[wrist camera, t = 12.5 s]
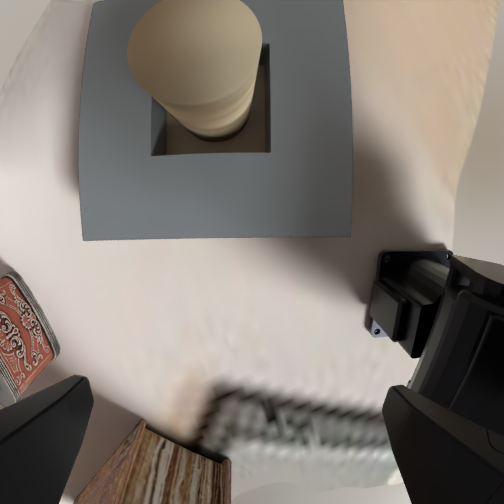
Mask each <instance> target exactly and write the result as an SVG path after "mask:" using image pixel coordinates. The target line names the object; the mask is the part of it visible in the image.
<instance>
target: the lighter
mask: <svg viewBox="0 0 504 504" xmlns="http://www.w3.org/2000/svg"><path fill="white" fill-rule="evenodd" d="M59 353H60V346H59V343H58V341H57V339H56V337H55V334H54V332H53V330H52V328H51V326H50V324H49V322H48V320H47V318H46V316H45V314H44V312H43V310H42V309H41V307H40V305H39V304H38V302H37V300H36V299H35V297H34V295H33V294H32V292H31V291H30V289H29V288H28V286H27V285H26V283H25V282H24V280H23V279H22V277H21V276H20V275H19V274H18V273H16V272H10V273H7V274H5V275H4V276H2V277H1V278H0V405H2V406H3V407H8V406H10V405H12V404H14V403H16V402H18V401H20V396H21V395H22V394H23V392H24V391H25V390H26V389H27V388H28V386H29V385H30V384H31V383H32V382H33V381H34V379H35V378H36V377H37V376H38V375H39V374H40V372H41V371H42V370H43V369H44V368H45V367H46V366H47V364H48V363H50V362H52V361H54V360H55V359H56V357H57V356H58V355H59Z"/></svg>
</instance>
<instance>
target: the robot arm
mask: <svg viewBox="0 0 504 504" xmlns="http://www.w3.org/2000/svg"><path fill="white" fill-rule="evenodd" d="M447 254H448V258H447V259H446V256H447ZM386 255H388V259H387V260H386V261H384V257H385V256H386ZM370 316H371V323H370V329H369V331H370V334H371V335H372V336H373V337H376V338H377V337H386V336H389V338H390V339H391V340H392V341H393V342H398V343H399V344H400V345H401V346H402V347H403V348H404V350H405V351H406V352H407V353H408V354H409V355H410V356H411V358H420V360H419V362H418V364H417V367H416V369H415V372H414V374H413V376H412V379H411V380H409V382H408V384H407V387H405V386H404V385H397V386H392V387H390V388H389V390H388V393H387V396H386V398H385V401H384V404H383V408H382V413H383V417H384V421H385V425H386V428H387V432H388V436H389V440H390V444H391V448H392V451H393V454H394V457H395V460H396V462H397V465H398V468H399V470H400V473H401V476H402V478H403V481H404V484H405V486H406V489H407V492H408V495H409V498H410V500H411V503H412V504H504V266H503V265H500V264H497V263H492V262H487V261H482V260H477V259H472V258H467V257H462V256H457V255H453V252H452V251H450V250H447V249H438V250H384V251H382V252H381V253H380V254H379V257H378V267H377V276H376V280H375V281H374V283H373V290H372V299H371V306H370ZM376 329H378V331H377V332H374V331H375V330H376ZM93 403H94V400H93V395H92V391H91V387H90V384H89V380H88V378H87V377H85V376H80V375H73V376H71V377H69V378H67V379H65V380H63V381H61V382H59V383H56V384H54V385H52V386H50V387H48V388H46V389H44V390H42V391H40V392H38V393H35V394H33V395H31V396H29V397H27V398H25V399H23V400H21V401H18V402H16V403H14V404H12V405H10V406H8V407H5V408H3V409H1V410H0V504H59V502H60V499H61V496H62V494H63V491H64V488H65V486H66V483H67V480H68V478H69V475H70V472H71V470H72V467H73V465H74V462H75V460H76V457H77V455H78V452H79V450H80V447H81V445H82V442H83V438H84V435H85V431H86V428H87V424H88V421H89V417H90V414H91V411H92V407H93Z"/></svg>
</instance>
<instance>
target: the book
mask: <svg viewBox="0 0 504 504" xmlns="http://www.w3.org/2000/svg"><path fill="white" fill-rule="evenodd" d="M145 426H146V422H145V421H144V420H141V421H140V422H139V423H138V424H137V425H136V427H135V428H134V429H133V430H132V432H131V433H130V434H129V435H128V436H127V438H126V439H125V440H124V441H123V443H122V444H121V445H120V446H119V447H118V449H117V450H116V451H115V452H114V454H113V455H112V456H111V457H110V458H109V460H108V461H107V462H106V463H105V465H104V466H103V467H102V468H101V469H100V471H99V472H98V473H97V474H96V475H95V477H94V478H93V479H92V480H91V481H90V483H89V484H88V485H87V486H86V487H85V489H84V490H83V491H82V492H81V493H80V495H79V496H78V497H77V498H76V499H75V501H74V504H231V461H230V460H228V459H226V460H224V461H223V462H222V463H221V464H220V463H217V462H215V461H212V460H210V459H208V458H205V457H203V456H201V455H199V454H196V453H194V452H192V451H190V450H188V449H185V448H183V447H181V446H179V445H177V444H175V443H173V442H171V441H169V440H167V439H165V438H163V437H161V436H159V435H157V434H156V433H154V432H152V431H150V430H148V429H146V428H145Z"/></svg>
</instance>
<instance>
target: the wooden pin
mask: <svg viewBox="0 0 504 504" xmlns="http://www.w3.org/2000/svg"><path fill="white" fill-rule="evenodd" d="M261 47H262V32H261V28H260V24H259V22H258V20H257V18H256V16H255V15H254V13H253V12H252V11H251V10H250V8H249V7H248V6H247V5H245V4H244V3H243V2H242V1H240V0H162V1H160V2H159V3H157V4H155V5H154V6H153V7H151V8H150V9H149V10H148V11H147V12H146V13H145V14H144V15H143V16H142V17H141V18H140V19H139V21H138V22H137V24H136V25H135V27H134V29H133V31H132V33H131V35H130V38H129V41H128V47H127V60H128V65H129V68H130V71H131V73H132V75H133V77H134V78H135V80H136V81H137V82H138V83H139V84H140V85H141V86H142V88H144V89H145V90H146V91H147V92H148V93H149V94H150V95H151V96H152V97H153V98H154V99H156V100H157V101H158V102H159V103H160V104H161V105H162V106H163V107H164V108H165V109H166V110H167V111H168V112H169V113H171V114H172V115H173V116H174V117H175V118H176V119H177V120H178V121H179V122H180V123H181V124H182V125H183V126H184V127H185V128H186V129H187V130H189V131H190V132H191V133H192V134H193V135H194V136H195V137H197V138H199V139H201V140H204V141H207V142H222V141H226V140H229V139H231V138H233V137H234V136H236V135H237V134H239V133H240V132H241V131H242V130H243V128H244V127H245V125H246V124H247V122H248V119H249V115H250V110H251V104H252V98H253V92H254V86H255V81H256V75H257V69H258V64H259V58H260V53H261Z"/></svg>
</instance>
